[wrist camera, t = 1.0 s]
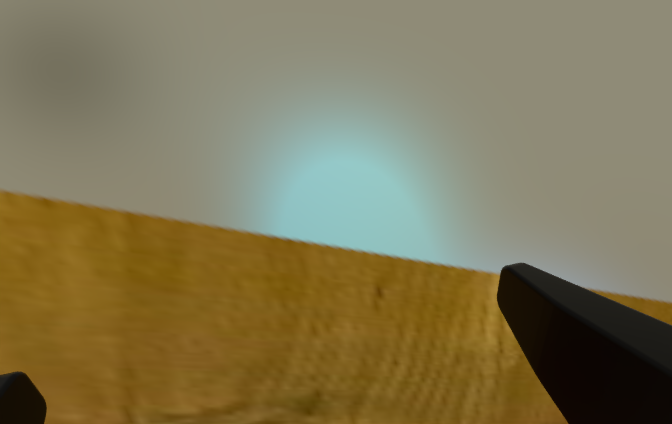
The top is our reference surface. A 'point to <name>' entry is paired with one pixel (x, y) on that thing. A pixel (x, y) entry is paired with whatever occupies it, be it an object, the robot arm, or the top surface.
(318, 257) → the top surface
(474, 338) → the top surface
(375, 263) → the top surface
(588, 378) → the robot arm
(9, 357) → the top surface
